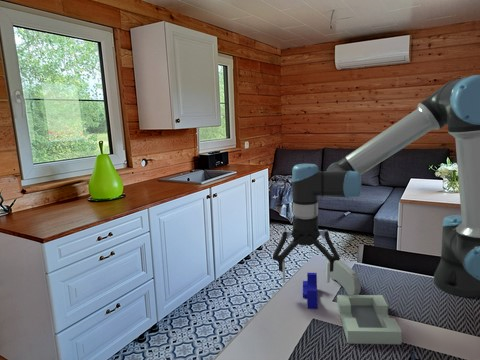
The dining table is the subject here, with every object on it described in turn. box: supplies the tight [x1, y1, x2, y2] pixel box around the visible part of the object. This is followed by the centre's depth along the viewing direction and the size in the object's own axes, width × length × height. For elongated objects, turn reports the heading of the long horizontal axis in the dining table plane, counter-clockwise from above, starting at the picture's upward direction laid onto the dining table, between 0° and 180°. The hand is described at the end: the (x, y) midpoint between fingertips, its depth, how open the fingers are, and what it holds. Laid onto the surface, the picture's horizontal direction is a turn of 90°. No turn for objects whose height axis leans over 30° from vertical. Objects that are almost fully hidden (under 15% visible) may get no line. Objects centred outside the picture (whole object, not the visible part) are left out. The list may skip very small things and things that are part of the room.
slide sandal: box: [330, 254, 362, 295], centre depth 118 cm, size 20×2×8 cm, turn 13°
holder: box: [336, 294, 403, 345], centre depth 97 cm, size 13×18×4 cm
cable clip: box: [302, 272, 319, 310], centre depth 112 cm, size 12×4×6 cm, turn 169°
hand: (305, 280), depth 111 cm, fingers open, 13 cm apart
